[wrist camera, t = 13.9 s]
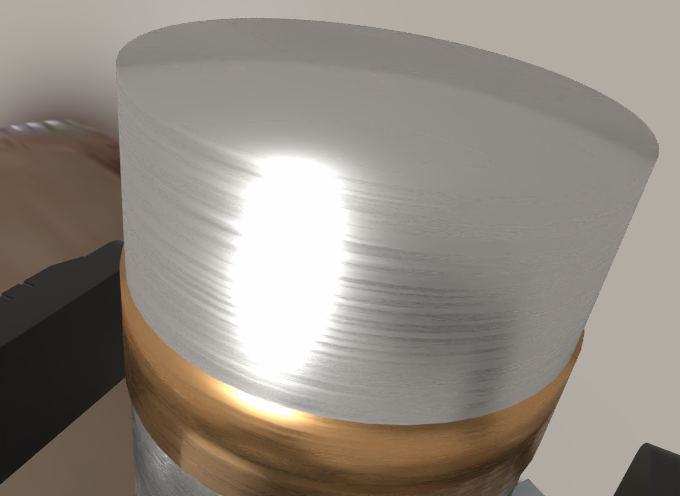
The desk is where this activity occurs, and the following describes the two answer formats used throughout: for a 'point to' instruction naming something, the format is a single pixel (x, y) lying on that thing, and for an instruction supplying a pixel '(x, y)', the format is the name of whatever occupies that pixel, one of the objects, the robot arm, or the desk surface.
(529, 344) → the cylinder
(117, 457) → the desk surface
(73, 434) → the desk surface
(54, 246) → the desk surface
